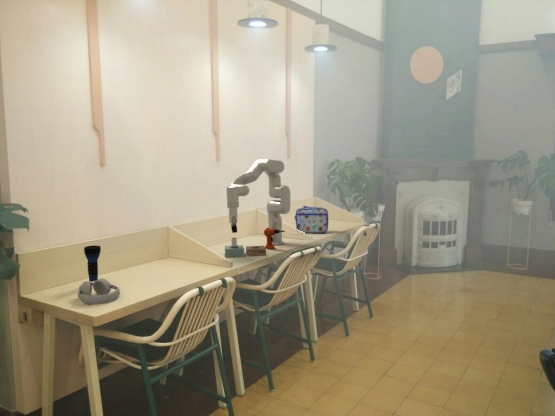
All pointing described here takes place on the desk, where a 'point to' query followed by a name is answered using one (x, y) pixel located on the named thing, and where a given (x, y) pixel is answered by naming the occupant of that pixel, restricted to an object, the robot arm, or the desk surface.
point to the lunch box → (312, 219)
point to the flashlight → (92, 261)
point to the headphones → (100, 288)
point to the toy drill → (270, 237)
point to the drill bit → (234, 242)
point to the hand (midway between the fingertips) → (234, 231)
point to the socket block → (255, 250)
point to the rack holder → (234, 251)
